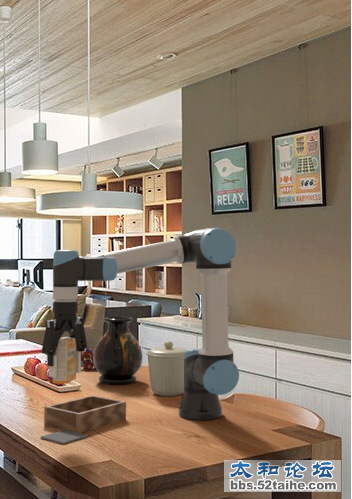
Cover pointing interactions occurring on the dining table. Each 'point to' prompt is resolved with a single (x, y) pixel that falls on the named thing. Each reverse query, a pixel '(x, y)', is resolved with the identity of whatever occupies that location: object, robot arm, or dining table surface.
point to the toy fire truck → (88, 359)
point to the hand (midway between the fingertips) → (64, 374)
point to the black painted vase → (117, 353)
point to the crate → (84, 413)
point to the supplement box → (66, 360)
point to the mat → (64, 436)
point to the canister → (166, 369)
